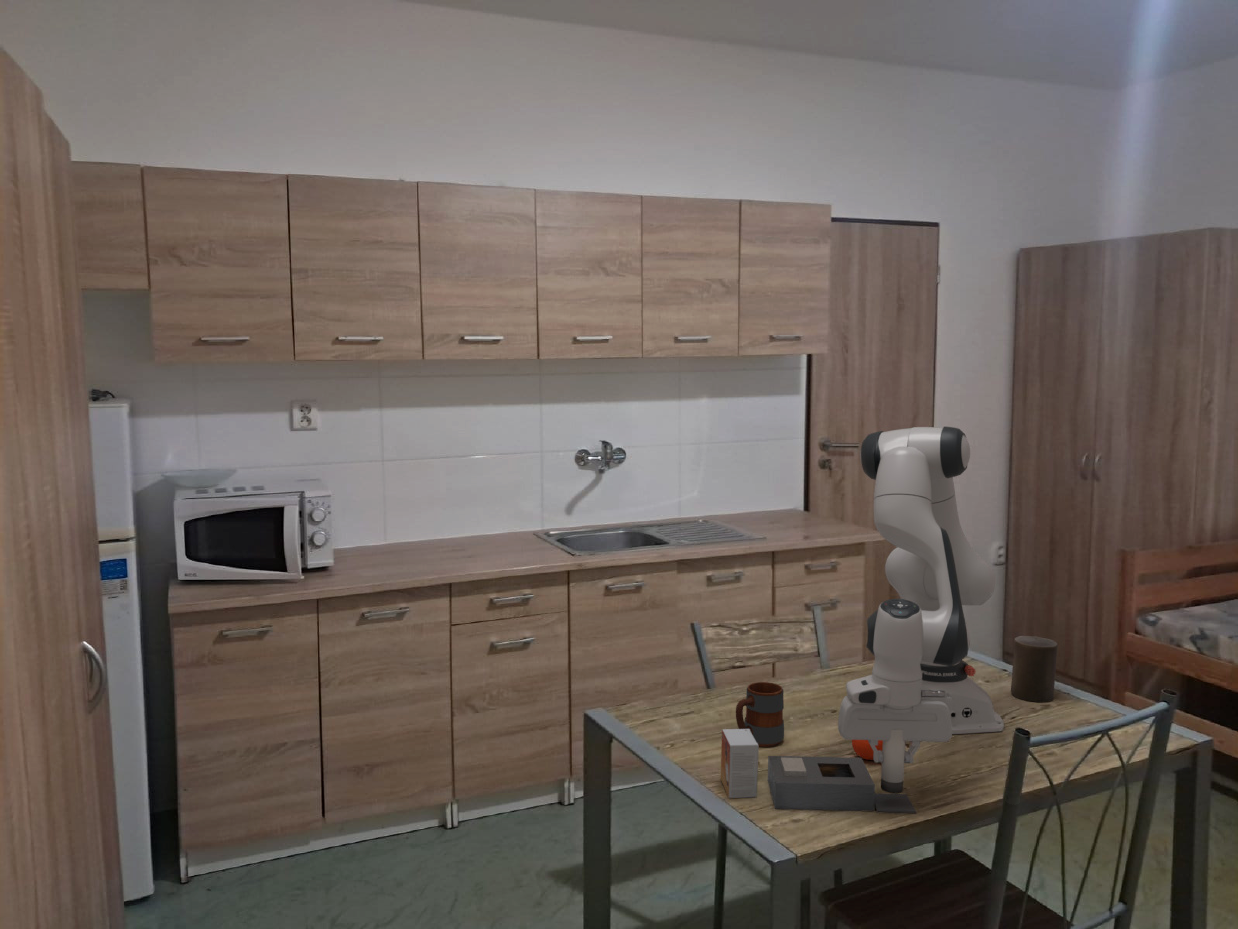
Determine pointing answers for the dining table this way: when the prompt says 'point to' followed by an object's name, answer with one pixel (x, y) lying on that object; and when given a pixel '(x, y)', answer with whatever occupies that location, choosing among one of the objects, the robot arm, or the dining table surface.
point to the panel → (820, 783)
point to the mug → (763, 713)
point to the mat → (893, 803)
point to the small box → (739, 763)
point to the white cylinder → (893, 763)
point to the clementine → (865, 748)
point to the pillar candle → (1034, 669)
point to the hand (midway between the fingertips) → (892, 762)
